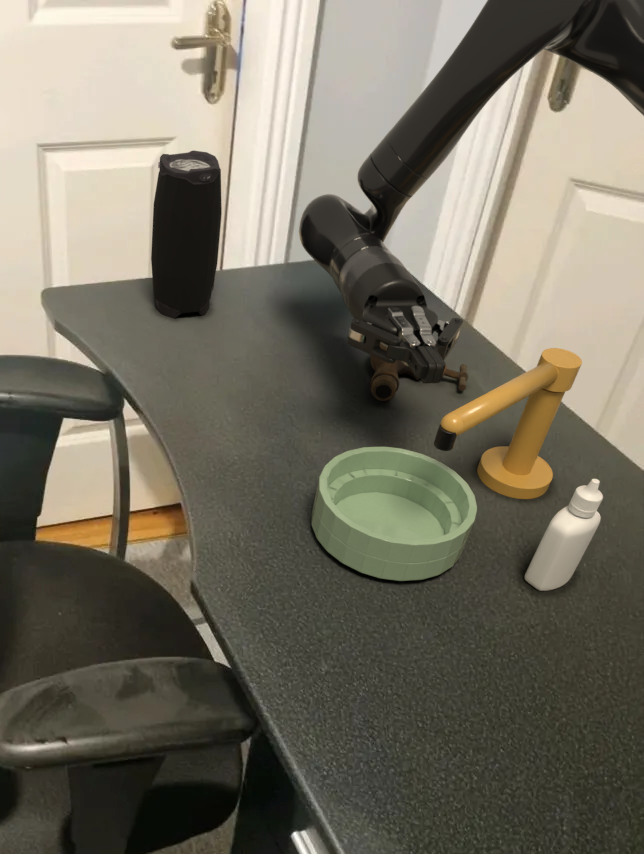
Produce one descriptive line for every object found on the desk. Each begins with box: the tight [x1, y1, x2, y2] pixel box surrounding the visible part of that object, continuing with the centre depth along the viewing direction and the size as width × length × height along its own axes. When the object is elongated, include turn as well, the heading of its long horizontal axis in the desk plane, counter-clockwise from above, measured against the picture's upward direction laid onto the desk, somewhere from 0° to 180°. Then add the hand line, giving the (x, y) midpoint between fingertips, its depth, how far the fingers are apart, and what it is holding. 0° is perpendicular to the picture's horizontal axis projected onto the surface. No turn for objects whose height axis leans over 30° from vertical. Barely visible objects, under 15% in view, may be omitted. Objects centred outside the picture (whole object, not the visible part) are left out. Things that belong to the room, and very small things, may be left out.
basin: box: [311, 446, 478, 582], centre depth 86 cm, size 16×16×6 cm
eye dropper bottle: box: [523, 478, 604, 592], centre depth 81 cm, size 4×6×12 cm
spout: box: [433, 347, 583, 452], centre depth 83 cm, size 21×4×3 cm, turn 131°
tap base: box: [476, 388, 566, 500], centre depth 93 cm, size 8×8×12 cm
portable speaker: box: [150, 149, 223, 319], centre depth 114 cm, size 9×9×20 cm
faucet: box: [369, 343, 469, 402], centre depth 110 cm, size 5×17×15 cm
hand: (434, 375), depth 84 cm, fingers closed
